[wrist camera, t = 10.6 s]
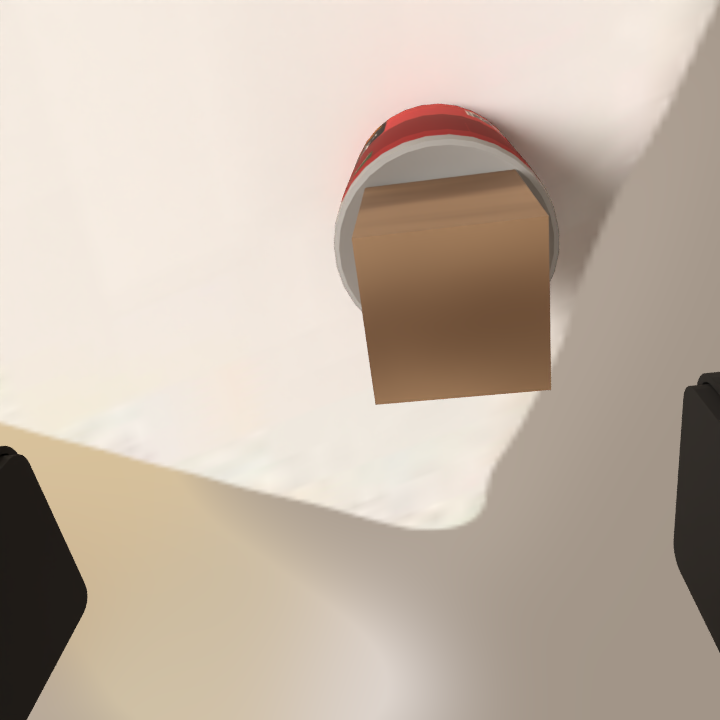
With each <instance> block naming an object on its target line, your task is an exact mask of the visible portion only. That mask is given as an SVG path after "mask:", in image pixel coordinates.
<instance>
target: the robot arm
mask: <svg viewBox="0 0 720 720" xmlns="http://www.w3.org/2000/svg"><path fill="white" fill-rule="evenodd" d="M681 428H682V429H681V442H680V456H679V470H678V485H677V500H676V514H675V529H674V553H675V557H676V561H677V565H678V567H679V570H680V572H681V574H682V576H683V578H684V580H685V582H686V584H687V586H688V589H689V591H690V593H691V595H692V597H693V599H694V601H695V603H696V605H697V607H698V609H699V611H700V613H701V615H702V617H703V619H704V621H705V623H706V625H707V627H708V629H709V631H710V633H711V635H712V637H713V640H714V642H715V644H716V646H717V648H718V650H719V652H720V372H714V373H704V374H702V375H701V376H700V378H699V380H698V383H697V385H695V386H688V387H687V388H686V390H685V392H684V399H683V414H682V427H681ZM86 604H87V589H86V586H85V583H84V581H83V579H82V577H81V574H80V572H79V570H78V568H77V566H76V564H75V561H74V559H73V557H72V555H71V553H70V551H69V548H68V546H67V544H66V542H65V540H64V537H63V535H62V533H61V531H60V529H59V527H58V524H57V522H56V520H55V518H54V516H53V514H52V511H51V509H50V507H49V505H48V503H47V500H46V498H45V496H44V494H43V492H42V490H41V487H40V485H39V483H38V481H37V479H36V477H35V474H34V472H33V470H32V468H31V466H30V463H29V462H28V460H27V459H26V458H25V457H24V456H23V455H19V454H17V452H16V451H15V450H13V449H12V448H11V447H8V446H0V720H27V718H28V716H29V714H30V712H31V711H32V709H33V707H34V705H35V703H36V701H37V699H38V697H39V696H40V694H41V692H42V690H43V688H44V686H45V684H46V682H47V681H48V679H49V677H50V675H51V673H52V671H53V669H54V667H55V666H56V664H57V662H58V660H59V658H60V656H61V654H62V652H63V651H64V649H65V647H66V645H67V643H68V641H69V639H70V637H71V636H72V634H73V632H74V630H75V628H76V626H77V624H78V622H79V621H80V618H81V617H82V615H83V613H84V610H85V608H86Z"/></svg>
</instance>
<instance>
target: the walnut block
mask: <svg viewBox="0 0 720 720" xmlns="http://www.w3.org/2000/svg"><path fill="white" fill-rule="evenodd" d="M352 245H353V252H354V258H355V265H356V272H357V279H358V286H359V293H360V300H361V307H362V314H363V321H364V327H365V334H366V341H367V348H368V355H369V362H370V369H371V376H372V383H373V390H374V396H375V403H376V405H377V404H389V403H401V402H413V401H424V400H436V399H448V398H459V397H471V396H483V395H495V394H506V393H518V392H530V391H542V390H551V352H550V277H549V216H548V214H547V213H546V211H545V210H544V209H543V207H542V206H541V205H540V203H539V202H538V200H537V199H536V198H535V196H534V195H533V193H532V192H531V191H530V189H529V188H528V187H527V185H526V184H525V182H524V181H523V180H522V178H521V177H520V175H519V174H518V173H517V171H516V170H515V169H513V170H505V171H497V172H489V173H481V174H473V175H465V176H457V177H449V178H440V179H432V180H424V181H416V182H408V183H400V184H392V185H384V186H376V187H368V188H365V190H364V194H363V197H362V201H361V205H360V209H359V213H358V216H357V220H356V224H355V228H354V231H353V235H352Z"/></svg>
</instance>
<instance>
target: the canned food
mask: <svg viewBox="0 0 720 720" xmlns="http://www.w3.org/2000/svg"><path fill="white" fill-rule="evenodd" d="M513 169H515V170H516V171H517V173H518V174H519V175H520V177H521V178H522V180H523V181H524V182H525V184H526V185H527V187H528V188H529V189H530V191H531V192H532V193H533V195H534V196H535V198H536V199H537V200H538V202H539V203H540V205H541V206H542V207H543V209H544V210H545V211H546V213H547V214H548V216H549V277H550V280H551V278H552V276H553V274H554V271H555V267H556V262H557V258H558V253H559V230H558V225H557V220H556V215H555V211H554V207H553V205H552V202H551V200H550V198H549V196H548V194H547V191H546V189H545V187H544V186H543V184H542V183H541V182H540V180H539V178H538V177H537V176H536V174H535V173H534V172H533V170H532V169H531V168H530V166H529V165H528V164H527V162H526V161H525V160H524V159H523V158H522V157H521V156H520V154H519V153H518V152H517V151H516V150H515V149H514V147H513V146H512V145H511V144H510V143H509V142H508V140H507V139H506V138H505V137H504V136H503V135H502V133H501V132H500V131H499V130H498V129H497V128H496V127H495V126H493V125H492V124H491V123H490V122H489V121H488V120H487V119H485V118H483V117H482V116H480V115H478V114H476V113H474V112H473V111H470V110H467V109H464V108H461V107H458V106H454V105H445V104H431V105H421V106H418V107H414V108H411V109H408V110H405V111H403V112H401V113H399V114H397V115H395V116H393V117H391V118H390V119H389V120H387V121H386V122H385V123H384V124H382V125H381V126H380V127H379V128H378V129H377V130H376V131H375V132H374V133H373V135H372V136H371V137H370V138H369V139H368V141H367V142H366V144H365V146H364V148H363V150H362V152H361V154H360V155H359V158H358V160H357V163H356V165H355V168H354V170H353V173H352V175H351V178H350V180H349V183H348V185H347V188H346V190H345V193H344V195H343V198H342V202H341V205H340V209H339V212H338V216H337V219H336V223H335V236H334V249H335V257H336V264H337V269H338V272H339V274H340V277H341V280H342V283H343V285H344V287H345V289H346V291H347V292H348V294H349V296H350V297H351V299H352V300H353V302H354V304H355V305H356V306H357V307H358V308H359V309H360V310H361V311H362V307H361V300H360V293H359V286H358V279H357V272H356V265H355V258H354V252H353V245H352V235H353V231H354V228H355V224H356V220H357V216H358V213H359V209H360V205H361V201H362V197H363V194H364V190H365V188H368V187H376V186H384V185H392V184H400V183H408V182H416V181H424V180H432V179H440V178H449V177H457V176H465V175H473V174H481V173H489V172H497V171H505V170H513Z"/></svg>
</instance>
